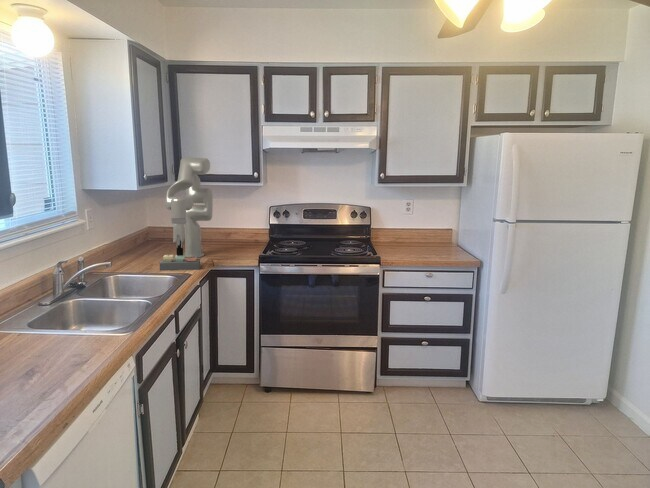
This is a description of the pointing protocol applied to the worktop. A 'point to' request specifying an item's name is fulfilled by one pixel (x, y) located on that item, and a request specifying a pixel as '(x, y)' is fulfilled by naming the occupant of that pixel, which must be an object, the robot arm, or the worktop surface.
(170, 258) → the tile one
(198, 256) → the robot arm
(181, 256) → the tile two
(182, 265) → the console
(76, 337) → the worktop surface
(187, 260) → the tile three
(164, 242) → the worktop surface
